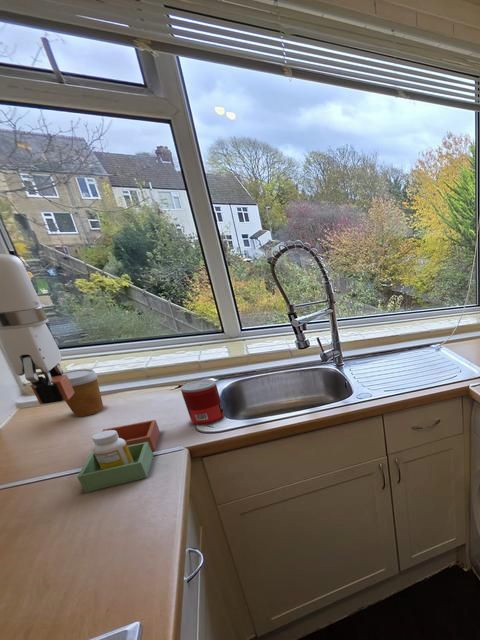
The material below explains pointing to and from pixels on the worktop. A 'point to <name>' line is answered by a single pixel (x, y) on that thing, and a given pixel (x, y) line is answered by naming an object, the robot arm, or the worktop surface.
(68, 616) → the worktop surface
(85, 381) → the disposable coffee cup
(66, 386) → the terracotta block
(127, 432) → the terracotta bin
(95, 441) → the supplement bottle
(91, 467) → the green bin
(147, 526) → the worktop surface
